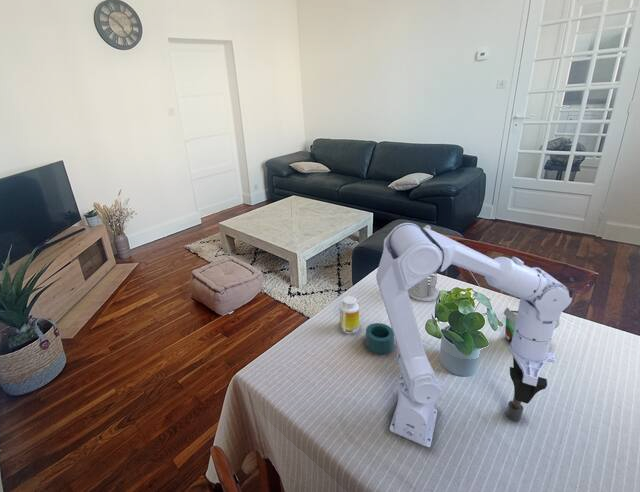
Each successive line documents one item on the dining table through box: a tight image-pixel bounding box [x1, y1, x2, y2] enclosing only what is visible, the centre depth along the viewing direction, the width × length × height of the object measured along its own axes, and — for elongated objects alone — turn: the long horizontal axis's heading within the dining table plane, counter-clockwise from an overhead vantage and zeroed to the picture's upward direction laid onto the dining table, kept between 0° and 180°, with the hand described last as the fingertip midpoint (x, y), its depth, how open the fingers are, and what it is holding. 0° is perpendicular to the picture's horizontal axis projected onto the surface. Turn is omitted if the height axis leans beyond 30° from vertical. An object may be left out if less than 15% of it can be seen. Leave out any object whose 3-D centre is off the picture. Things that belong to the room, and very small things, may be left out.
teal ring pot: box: [365, 322, 395, 355], centre depth 93 cm, size 7×7×4 cm
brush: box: [506, 394, 524, 423], centre depth 70 cm, size 3×3×8 cm
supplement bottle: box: [339, 295, 360, 334], centre depth 100 cm, size 6×6×10 cm
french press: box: [407, 224, 439, 302], centre depth 110 cm, size 10×12×25 cm
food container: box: [503, 307, 561, 343], centre depth 87 cm, size 12×6×10 cm, turn 76°
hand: (520, 386), depth 68 cm, fingers open, 7 cm apart
